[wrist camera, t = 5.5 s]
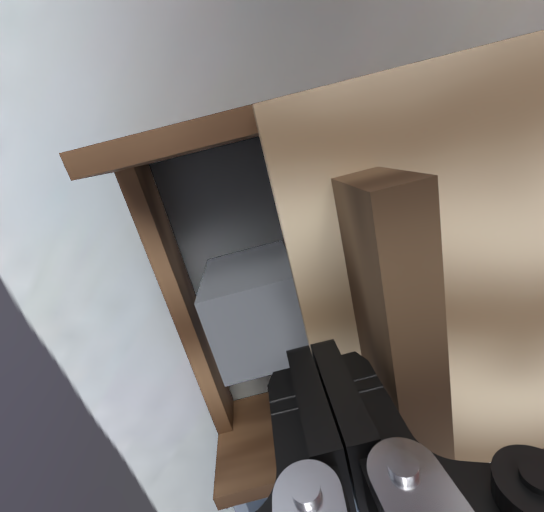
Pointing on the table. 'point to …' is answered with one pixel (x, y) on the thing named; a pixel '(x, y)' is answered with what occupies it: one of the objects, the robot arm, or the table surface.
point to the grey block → (250, 312)
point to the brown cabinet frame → (190, 288)
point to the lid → (425, 235)
